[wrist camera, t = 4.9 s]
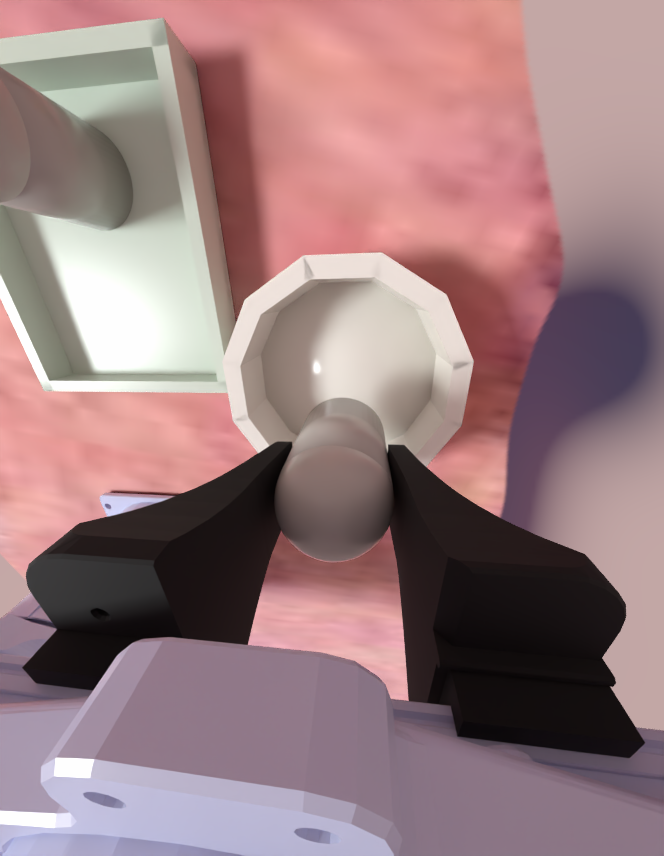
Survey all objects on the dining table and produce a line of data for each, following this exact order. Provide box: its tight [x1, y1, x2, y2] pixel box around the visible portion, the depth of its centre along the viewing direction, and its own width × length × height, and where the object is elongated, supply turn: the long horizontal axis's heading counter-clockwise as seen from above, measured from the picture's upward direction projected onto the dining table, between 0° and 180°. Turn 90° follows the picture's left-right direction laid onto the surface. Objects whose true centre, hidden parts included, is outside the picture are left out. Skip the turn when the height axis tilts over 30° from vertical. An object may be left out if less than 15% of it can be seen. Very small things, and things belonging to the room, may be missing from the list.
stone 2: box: [274, 398, 394, 563], centre depth 10 cm, size 4×4×6 cm
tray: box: [0, 18, 236, 393], centre depth 13 cm, size 13×11×2 cm
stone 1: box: [0, 67, 133, 230], centre depth 10 cm, size 4×4×6 cm
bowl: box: [222, 252, 474, 466], centre depth 14 cm, size 11×11×4 cm
